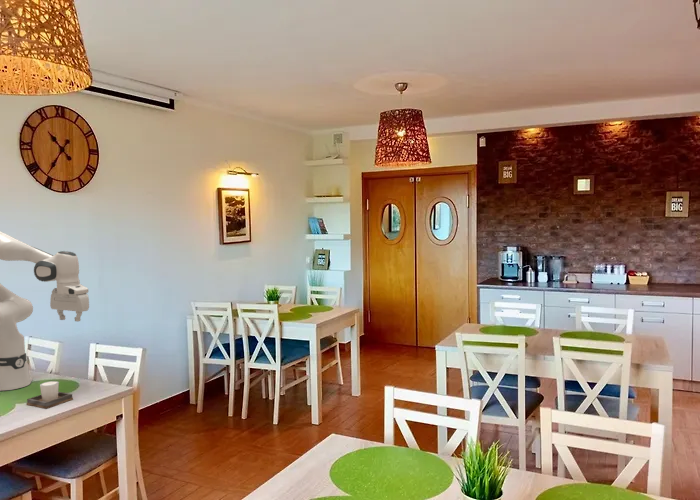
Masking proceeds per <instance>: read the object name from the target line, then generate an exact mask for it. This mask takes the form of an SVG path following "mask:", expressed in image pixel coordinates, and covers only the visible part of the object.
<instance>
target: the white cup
mask: <svg viewBox="0 0 700 500" xmlns="http://www.w3.org/2000/svg"><path fill="white" fill-rule="evenodd" d="M59 383H60V382H59V381H57V380H52V381H51V380H50V381H45V382H42V383H40V384H39V388H40V395H42V401H44V402H49V401H52V400H54V399H57V398H58V392H59V385H60V384H59Z"/></svg>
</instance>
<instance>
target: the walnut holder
mask: <svg viewBox="0 0 700 500" xmlns="http://www.w3.org/2000/svg"><path fill="white" fill-rule="evenodd" d="M72 400H74V397H73V394H71V393H68V392H61V391H58V398H57V399H54V400H52V401H49V402H44V401H42V395H41V394H39V395H36V396H32V397H30V398H27V399H26V401H27V402H26V406H29V407H35V408H40V409H45V410H47V409H51V408H53V407H56V406H58V405H61V404H64V403H66V402H69V401H72Z"/></svg>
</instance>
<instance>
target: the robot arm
mask: <svg viewBox="0 0 700 500" xmlns="http://www.w3.org/2000/svg"><path fill="white" fill-rule="evenodd" d="M0 260H1V261H6V262H13V261H17V262H18V261H22V262H23V261H26V262H31V263H34V264H35V265H34V266H33V274H34V276H35V278H36V280H38V281H39V282H44V283H46V282H47V283H48V282H55V281H56V287H54V288H53V289H52V291H51V295H50V302H49V303H50V309H51V310H56V312H57V315H58V317H59V320H60V321H65V320H66V315H65V314H64V311H68V312H70V311H71V312H75V317H74V322H81V320H82V319H81V316H82V315H83V313H84V312H87V311H88V310H89V308H90V298H89V295H88V294H89V288H88V287H87V286H84V285H82V284H81V282H80V278H79V274H80V265H79V258H78V255H77V254H76V253H75V252H74V251H68V250H67V251H65V250H63V251H62V250H60V251H57V252H56V254H54V255H53V254H51V253H49V252H46V251H44V250H42V249H39V248H37V247H35V246H33V245H30V244H27V243H25V242H24V241H21V240H20V239H17V238H14V237H13V236H11V235H10V234H7V233H5V232H2V231H1V230H0ZM33 311H34V307H33V304H32V302H31V301H30V300H28V299H27V298H24V297H22V296H20V295H17V294H16V293H14V292H13V291H11V290H10V289H8V288H7V287H5V286H4V285H3V284H2V283H0V392H1V391H11V390H12V391H13V390H17V389H20V388H24V387H27V386H29V385H30V384H31V383H32V382H33V381H34V378H33V377H31V372H30V371H31V370H30V366H29V363H27V358H28V356H27V353H26V350H25V349H26V348H25V347H26V345H25V336H24V335H23V334H22V333H20V331H19V329H18V327H17V326H18V325H17V323H20V322H22V321H25V320H26V319H28V318H29V317H30V316H32V315H33Z"/></svg>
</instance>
